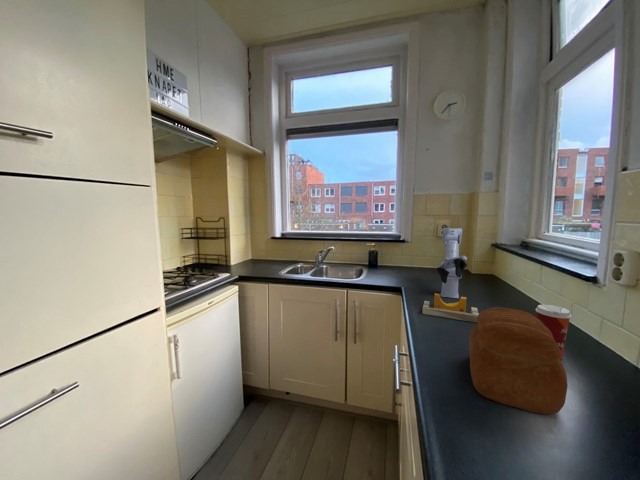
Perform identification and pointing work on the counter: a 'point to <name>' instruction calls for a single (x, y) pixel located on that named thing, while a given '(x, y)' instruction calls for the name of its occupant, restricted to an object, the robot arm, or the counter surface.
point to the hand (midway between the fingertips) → (450, 279)
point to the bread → (517, 361)
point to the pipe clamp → (450, 304)
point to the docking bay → (451, 313)
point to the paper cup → (555, 323)
